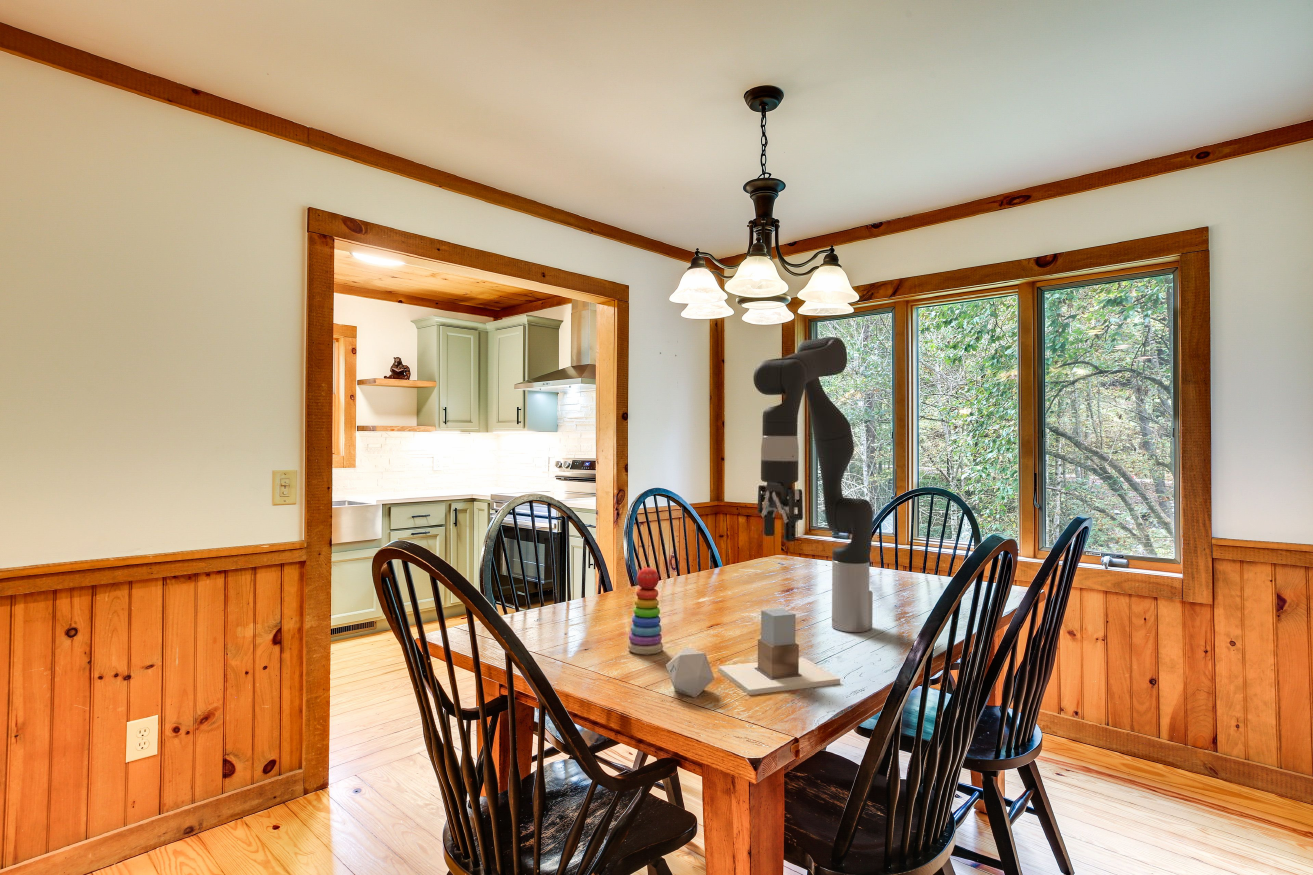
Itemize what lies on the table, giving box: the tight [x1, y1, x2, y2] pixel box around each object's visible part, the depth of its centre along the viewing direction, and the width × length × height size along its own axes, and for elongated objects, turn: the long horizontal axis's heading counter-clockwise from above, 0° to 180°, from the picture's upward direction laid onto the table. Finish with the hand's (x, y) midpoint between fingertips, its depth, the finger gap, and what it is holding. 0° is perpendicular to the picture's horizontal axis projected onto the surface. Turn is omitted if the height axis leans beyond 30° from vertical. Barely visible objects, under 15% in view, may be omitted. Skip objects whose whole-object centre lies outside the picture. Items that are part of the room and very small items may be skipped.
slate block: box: [760, 607, 797, 646], centre depth 140 cm, size 5×5×6 cm
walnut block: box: [757, 638, 800, 678], centre depth 140 cm, size 6×6×6 cm
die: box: [665, 647, 715, 698], centre depth 131 cm, size 8×9×10 cm
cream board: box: [717, 656, 841, 696], centre depth 140 cm, size 20×14×1 cm
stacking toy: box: [627, 567, 664, 656], centre depth 157 cm, size 8×8×19 cm
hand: (779, 538), depth 140 cm, fingers open, 8 cm apart
